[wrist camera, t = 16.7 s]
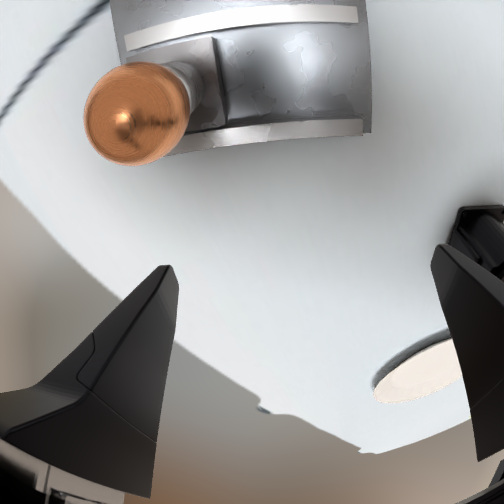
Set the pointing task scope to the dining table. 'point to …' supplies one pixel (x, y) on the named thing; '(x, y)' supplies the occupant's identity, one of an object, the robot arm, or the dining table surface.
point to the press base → (266, 63)
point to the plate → (420, 374)
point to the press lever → (155, 102)
